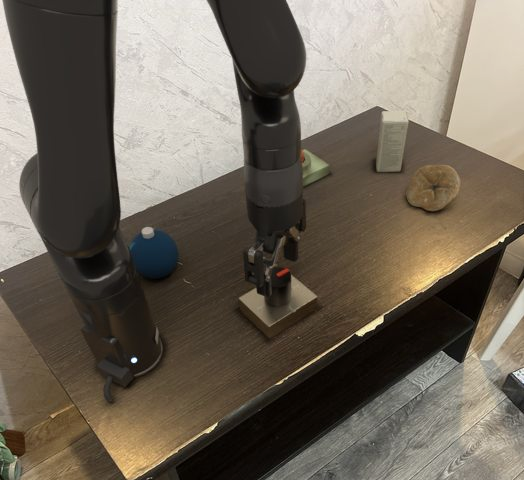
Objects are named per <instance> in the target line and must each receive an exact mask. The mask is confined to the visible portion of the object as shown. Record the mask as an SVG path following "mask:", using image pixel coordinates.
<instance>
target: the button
mask: <svg viewBox="0 0 524 480" xmlns="http://www.w3.org/2000/svg"><path fill="white" fill-rule="evenodd" d="M302 150H303V149H301V160H302V163H303V162H304V152H303V151H302Z"/></svg>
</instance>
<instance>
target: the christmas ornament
mask: <svg viewBox="0 0 524 480" xmlns="http://www.w3.org/2000/svg"><path fill="white" fill-rule="evenodd" d="M129 249H130V252H131V255H132V258H133V261H134V264H135V267H136V270H137V273H138V274H139V275H141V276H142V277H146V278H147V279H161V278H164V277H166V276H168V275H170V274H171V273H172V272H174V270H175V268H176V267H177V265H178V263H179V262H178V261H179V248H178V245H177V242H176V241H175V240H174V239H173V237H172V236H171V235H170V234H169V233H167V232H165V231H163V230H161V229H154V228H152V226H146V227H143V228H142V229H141V231H140V232H139V233H137V234H136V235H135V236H134V237H133V239H132V241H131V243H130V245H129Z"/></svg>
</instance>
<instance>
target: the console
mask: <svg viewBox="0 0 524 480" xmlns="http://www.w3.org/2000/svg"><path fill="white" fill-rule="evenodd" d="M238 305H239V311H240V312H241V313H242V314H243V315H244V316H245V317H246V318H247V319H248V320H249V321H250V322H251V323H252V324H253V325H254V326H255V327H256V328H258V330H259V331H261V333H263V334H264V336H265V337H267V338H268V339H269V340H270V339H272V338H273V337H275V336H276V335H278V334H279V333H281V332H282V331H284V330H286V329H287V328H289V327H291V326H292V325H294V324H295V323H297V322H299V321H301V320H302V319H303V318H305V317H307V316H308V315H309V314H312V313H313V312H314V311H316V310H317V309H318V295H317V294H315V293H314V292H313V291H312V290H310V289H309V288H308V287H307V286H306V285H305V284H303V283H302V282H301V281H300V280H298V279H297V278H296V277H295V276H294V275H293V274H291V300H290V302H289V303H288V304H286V305H284V306H281V307H274V306H271V305H269V304H267V303H266V301H265V299H264V296H262V295H260V294H257V289H256V287H255V288H253V289H251V290H250V291H248V292H246V293H244V294H243V295H241V296H238Z"/></svg>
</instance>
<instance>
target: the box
mask: <svg viewBox="0 0 524 480" xmlns="http://www.w3.org/2000/svg"><path fill="white" fill-rule="evenodd" d="M409 121H410V120H409V114H408V111H407V110H383V111H381V115H380V124H379V126H380V127H379V132H378V133H379V134H378V142H377V150H376V157H375V167H376V168H375V169H376V172H377V173H378V172H379V173H381V172H382V173H387V172H388V173H390V172H393V173H395V172H401V171H402V170H401V169H402V164H403V159H404V152H405V147H406V141H407V140H406V139H407V134H408V128H409Z"/></svg>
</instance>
